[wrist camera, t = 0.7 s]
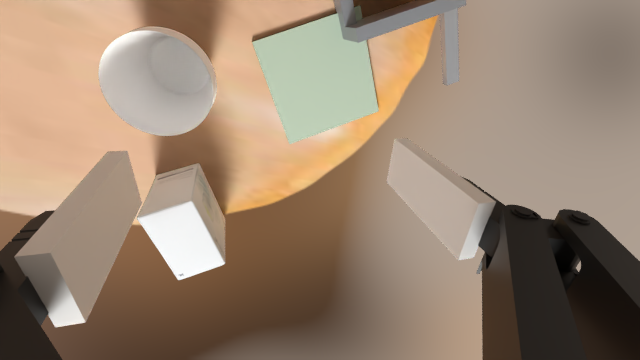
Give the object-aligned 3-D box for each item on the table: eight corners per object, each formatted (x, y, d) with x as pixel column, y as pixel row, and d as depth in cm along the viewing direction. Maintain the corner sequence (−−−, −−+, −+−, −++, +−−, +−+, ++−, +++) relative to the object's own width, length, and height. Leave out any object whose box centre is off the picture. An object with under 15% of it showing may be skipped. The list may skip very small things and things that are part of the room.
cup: (222, 32, 35) (218, 41, 25) (218, 108, 39) (213, 142, 29) (133, 14, 32) (88, 15, 22) (139, 98, 36) (102, 132, 26)
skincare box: (227, 218, 47) (226, 265, 38) (186, 230, 46) (176, 282, 37) (201, 160, 41) (192, 201, 33) (154, 174, 41) (132, 219, 32)
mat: (251, 41, 36) (252, 42, 35) (358, 5, 37) (360, 5, 36) (289, 142, 43) (289, 144, 43) (376, 110, 44) (378, 111, 44)
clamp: (311, -104, 31) (326, -127, 26) (449, -146, 32) (489, -176, 27) (358, 115, 44) (374, 128, 39) (454, 79, 45) (482, 88, 40)
